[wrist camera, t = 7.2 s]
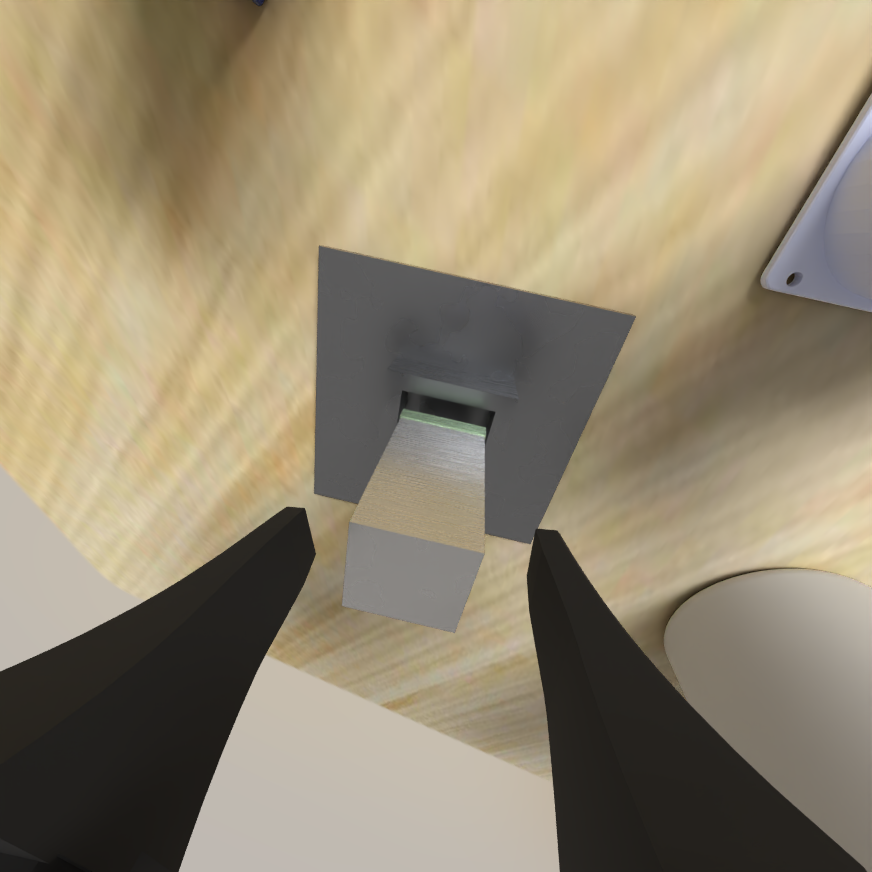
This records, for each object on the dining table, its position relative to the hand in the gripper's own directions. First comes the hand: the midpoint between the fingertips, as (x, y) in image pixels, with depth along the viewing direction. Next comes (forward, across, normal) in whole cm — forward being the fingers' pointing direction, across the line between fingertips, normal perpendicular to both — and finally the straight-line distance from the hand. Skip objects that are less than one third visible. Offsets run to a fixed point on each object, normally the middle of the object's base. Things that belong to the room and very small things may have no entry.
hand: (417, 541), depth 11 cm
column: (+6, 0, 0) cm, 6 cm away
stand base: (+9, 0, 0) cm, 9 cm away
